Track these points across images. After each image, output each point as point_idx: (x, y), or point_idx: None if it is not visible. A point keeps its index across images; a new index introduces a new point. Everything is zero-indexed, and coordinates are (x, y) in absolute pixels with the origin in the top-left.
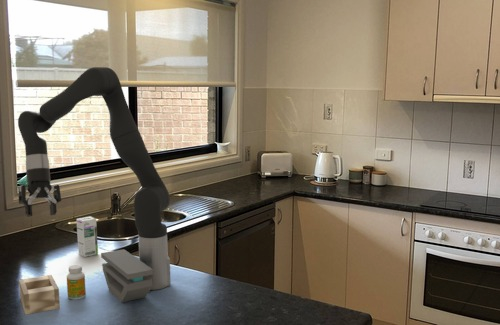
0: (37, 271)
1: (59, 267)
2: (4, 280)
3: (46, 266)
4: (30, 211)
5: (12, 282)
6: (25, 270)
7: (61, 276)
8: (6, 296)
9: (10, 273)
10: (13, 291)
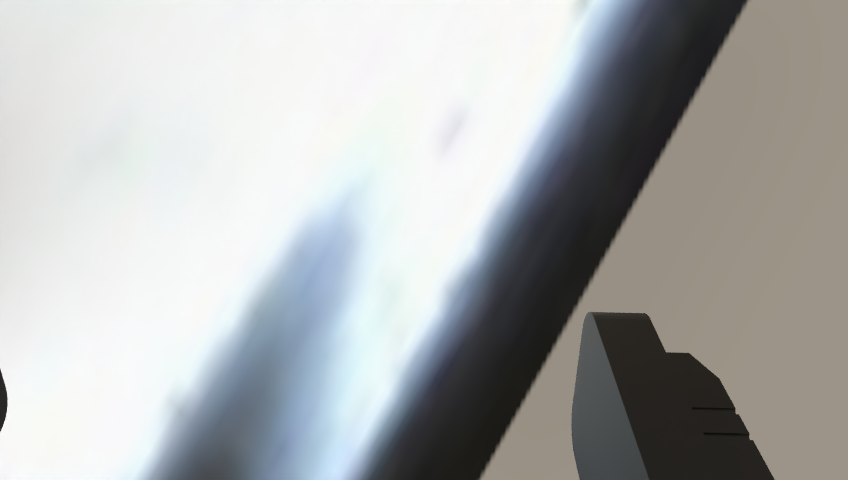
0: (281, 365)
1: (105, 320)
2: (544, 364)
3: (168, 423)
4: (660, 375)
5: (532, 279)
6: (331, 456)
7: (214, 101)
8: (712, 38)
9: (438, 474)
10: (630, 93)
